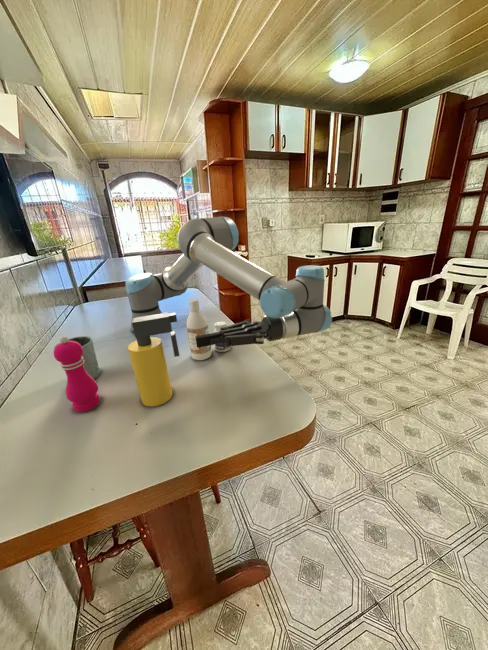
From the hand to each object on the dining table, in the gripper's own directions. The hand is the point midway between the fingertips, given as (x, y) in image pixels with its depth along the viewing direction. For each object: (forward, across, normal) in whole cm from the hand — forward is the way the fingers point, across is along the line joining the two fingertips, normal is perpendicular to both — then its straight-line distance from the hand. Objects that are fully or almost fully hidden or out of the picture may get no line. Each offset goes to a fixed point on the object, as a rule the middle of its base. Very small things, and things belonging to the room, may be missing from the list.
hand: (196, 342), depth 70 cm
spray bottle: (+10, 0, +14) cm, 17 cm away
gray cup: (+35, -20, +14) cm, 42 cm away
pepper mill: (+31, -4, +14) cm, 34 cm away
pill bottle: (-10, -20, +14) cm, 26 cm away
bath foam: (-2, -18, +14) cm, 23 cm away
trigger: (+5, 0, +2) cm, 6 cm away
